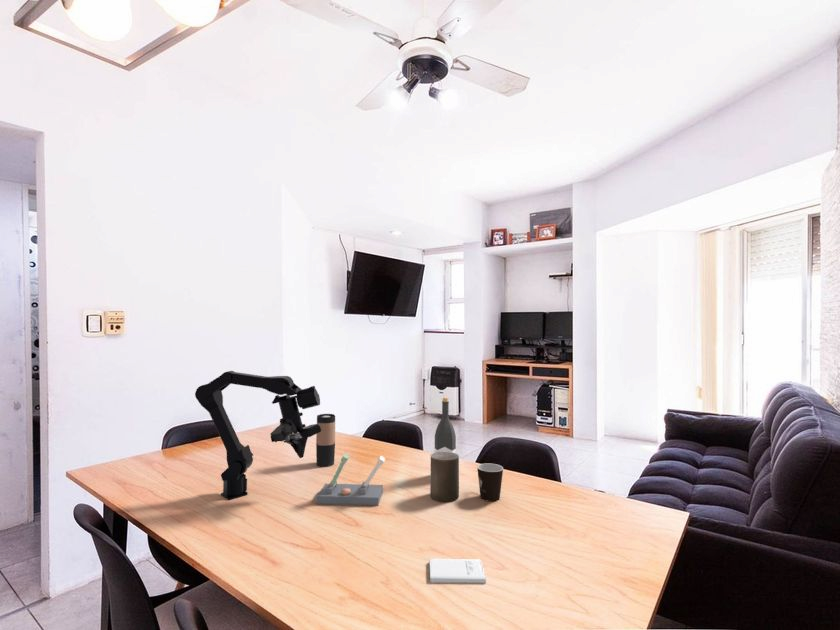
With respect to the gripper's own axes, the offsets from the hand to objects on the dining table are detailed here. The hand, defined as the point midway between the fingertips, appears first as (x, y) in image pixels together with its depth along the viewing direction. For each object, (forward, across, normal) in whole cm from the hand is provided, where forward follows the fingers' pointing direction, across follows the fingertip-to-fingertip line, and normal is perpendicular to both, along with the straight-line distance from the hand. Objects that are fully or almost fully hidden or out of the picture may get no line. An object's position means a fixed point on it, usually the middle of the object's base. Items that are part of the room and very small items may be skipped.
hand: (301, 457), depth 144 cm
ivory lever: (+14, +18, +7) cm, 24 cm away
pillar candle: (+25, +38, +21) cm, 50 cm away
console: (+16, +13, +4) cm, 21 cm away
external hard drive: (+25, +60, -18) cm, 68 cm away
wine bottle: (+25, +30, +38) cm, 55 cm away
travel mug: (+13, -18, +27) cm, 34 cm away
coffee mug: (+29, +51, +29) cm, 65 cm away
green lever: (+11, +8, +2) cm, 14 cm away
